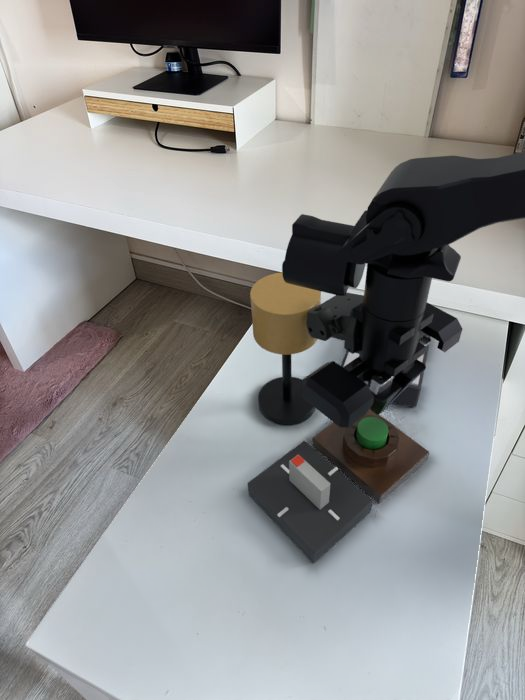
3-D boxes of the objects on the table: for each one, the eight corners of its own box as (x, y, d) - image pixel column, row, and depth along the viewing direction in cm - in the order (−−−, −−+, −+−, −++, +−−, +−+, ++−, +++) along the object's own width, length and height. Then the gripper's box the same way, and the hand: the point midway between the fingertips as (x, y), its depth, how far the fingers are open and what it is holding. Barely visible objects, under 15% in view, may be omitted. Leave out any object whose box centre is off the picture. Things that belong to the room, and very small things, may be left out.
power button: (392, 438, 61) (394, 429, 60) (372, 455, 59) (374, 446, 58) (369, 421, 63) (371, 412, 62) (350, 436, 61) (351, 427, 60)
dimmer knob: (329, 502, 56) (330, 482, 53) (320, 510, 55) (321, 489, 52) (298, 473, 59) (298, 452, 56) (289, 480, 58) (288, 459, 55)
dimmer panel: (371, 511, 57) (373, 499, 56) (313, 564, 53) (313, 552, 51) (304, 452, 64) (304, 439, 62) (247, 495, 60) (246, 482, 58)
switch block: (427, 460, 62) (432, 443, 60) (379, 504, 58) (382, 487, 56) (359, 409, 68) (362, 392, 66) (312, 445, 64) (313, 428, 62)
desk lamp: (328, 404, 69) (335, 292, 56) (285, 435, 66) (282, 324, 53) (289, 373, 74) (287, 264, 61) (246, 401, 70) (235, 291, 57)
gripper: (390, 235, 56) (375, 340, 67) (262, 306, 48) (268, 413, 58) (480, 276, 49) (448, 385, 60) (350, 367, 41) (339, 475, 52)
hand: (376, 411), depth 58 cm, fingers closed
